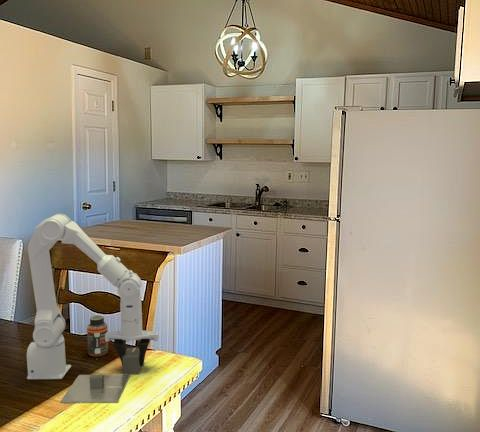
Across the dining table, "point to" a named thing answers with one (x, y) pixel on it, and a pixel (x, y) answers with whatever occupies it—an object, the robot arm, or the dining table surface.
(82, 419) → the dining table surface
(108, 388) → the grey flat square slab
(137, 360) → the striped grey block
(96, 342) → the supplement bottle
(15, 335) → the dining table surface
